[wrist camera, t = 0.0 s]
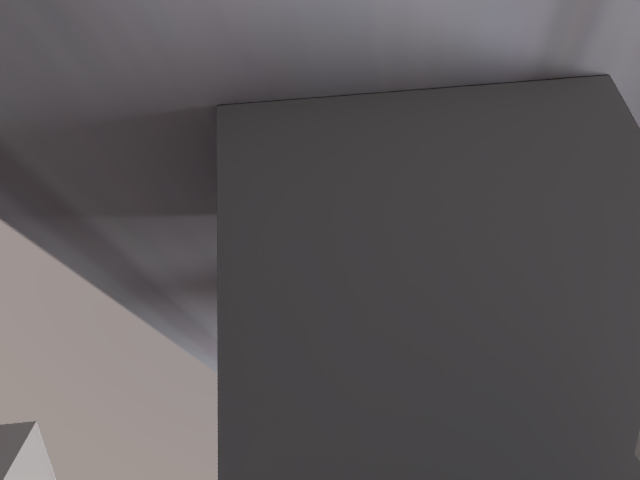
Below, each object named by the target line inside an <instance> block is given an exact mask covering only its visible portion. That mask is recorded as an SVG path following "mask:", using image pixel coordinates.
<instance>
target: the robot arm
mask: <svg viewBox="0 0 640 480" xmlns="http://www.w3.org/2000/svg"><path fill="white" fill-rule="evenodd" d="M634 454H635V456H636V457H637V458H638V459H639V461H640V431H639V436H638V440H637V445H636V449H635V453H634ZM0 480H56V477H55V474H54V471H53V469H52V465H51V463H50V460H49V457H48V454H47V451H46V448H45V445H44V442H43V439H42V436H41V433H40V430H39V427H38V425H37V422H36V421H33V422H23V423H14V424H5V425H0Z"/></svg>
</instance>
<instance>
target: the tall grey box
mask: <svg viewBox="0 0 640 480" xmlns="http://www.w3.org/2000/svg"><path fill="white" fill-rule="evenodd" d="M217 319H218V480H640V461H639V459H638V458H637V457H636V456H635V454H634V453H635V449H636V445H637V440H638V436H639V431H640V128H639V126H638V125H637V123H636V121H635V119H634V118H633V116H632V114H631V112H630V110H629V109H628V107H627V105H626V103H625V101H624V100H623V98H622V96H621V94H620V93H619V91H618V89H617V87H616V85H615V84H614V82H613V80H612V78H611V76H610V75H604V76H592V77H579V78H566V79H553V80H540V81H527V82H515V83H502V84H489V85H476V86H463V87H450V88H438V89H425V90H412V91H399V92H386V93H373V94H361V95H348V96H335V97H322V98H309V99H296V100H283V101H271V102H258V103H245V104H232V105H219V106H217Z"/></svg>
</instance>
